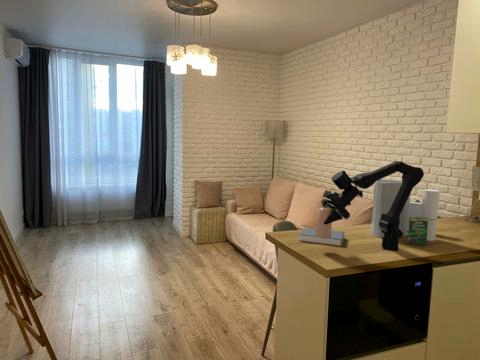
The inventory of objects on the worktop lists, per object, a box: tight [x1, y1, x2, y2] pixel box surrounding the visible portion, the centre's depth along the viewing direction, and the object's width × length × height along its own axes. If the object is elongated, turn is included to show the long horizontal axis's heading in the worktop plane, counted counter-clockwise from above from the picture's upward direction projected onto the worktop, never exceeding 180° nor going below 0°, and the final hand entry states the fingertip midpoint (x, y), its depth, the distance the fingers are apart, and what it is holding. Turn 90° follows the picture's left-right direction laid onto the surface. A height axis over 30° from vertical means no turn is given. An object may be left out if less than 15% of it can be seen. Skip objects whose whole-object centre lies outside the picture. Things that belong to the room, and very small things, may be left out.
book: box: [298, 227, 345, 247], centre depth 175 cm, size 20×14×4 cm
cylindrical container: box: [421, 188, 441, 242], centre depth 180 cm, size 7×7×25 cm
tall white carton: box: [370, 178, 411, 239], centre depth 190 cm, size 19×15×28 cm
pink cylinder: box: [315, 206, 333, 239], centre depth 157 cm, size 6×6×12 cm
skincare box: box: [407, 201, 423, 232], centre depth 198 cm, size 21×5×16 cm, turn 58°
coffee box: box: [407, 217, 428, 247], centre depth 172 cm, size 8×3×13 cm, turn 68°
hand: (321, 222), depth 157 cm, fingers closed on pink cylinder, 6 cm apart
